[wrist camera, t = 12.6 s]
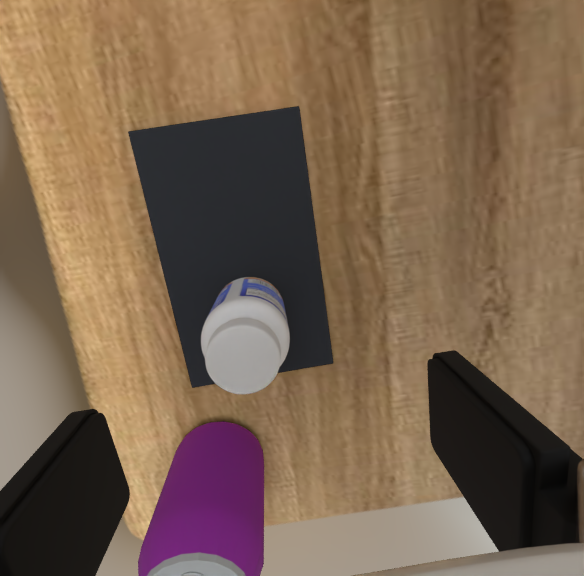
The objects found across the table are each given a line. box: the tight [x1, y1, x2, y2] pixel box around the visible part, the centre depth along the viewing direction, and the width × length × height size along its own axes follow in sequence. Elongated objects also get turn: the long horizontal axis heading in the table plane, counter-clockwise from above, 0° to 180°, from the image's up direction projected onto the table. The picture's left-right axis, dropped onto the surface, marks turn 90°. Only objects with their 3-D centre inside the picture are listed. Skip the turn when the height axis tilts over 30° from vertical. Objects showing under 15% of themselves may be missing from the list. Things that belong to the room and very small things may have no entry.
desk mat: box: [128, 106, 333, 388], centre depth 27 cm, size 20×12×1 cm, turn 9°
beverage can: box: [138, 421, 264, 576], centre depth 25 cm, size 8×8×12 cm
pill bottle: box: [201, 277, 290, 394], centre depth 23 cm, size 5×5×10 cm
